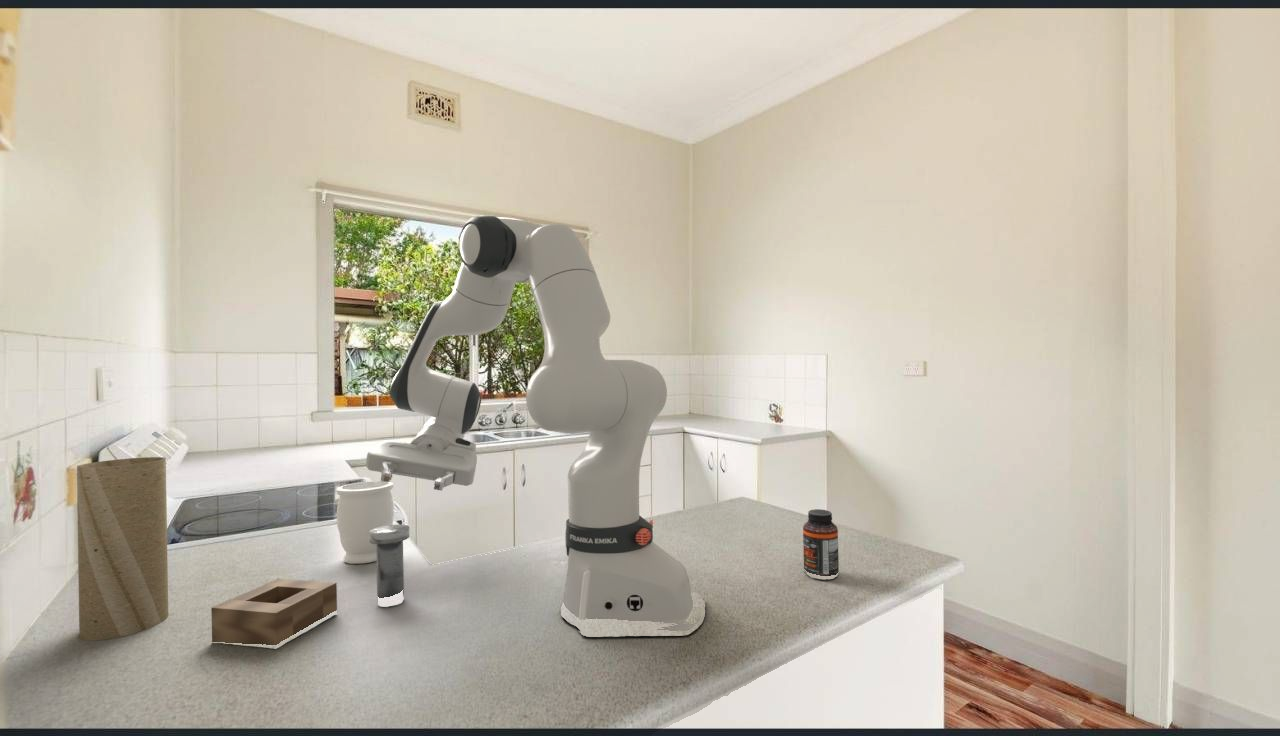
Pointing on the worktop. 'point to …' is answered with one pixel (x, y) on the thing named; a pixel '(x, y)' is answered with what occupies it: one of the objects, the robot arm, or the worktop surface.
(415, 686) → the worktop surface
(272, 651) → the worktop surface
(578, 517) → the robot arm
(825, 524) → the supplement bottle
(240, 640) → the block
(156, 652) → the worktop surface
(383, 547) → the pin
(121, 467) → the tube
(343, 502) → the jar
